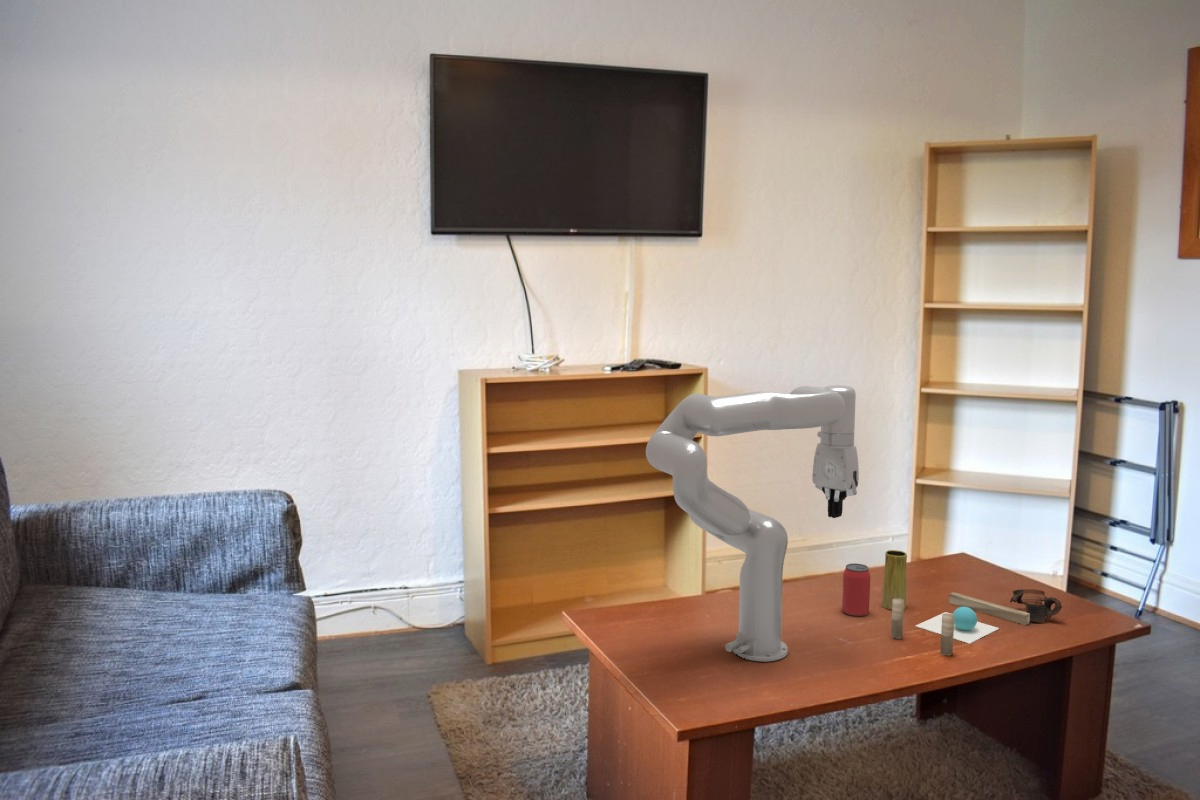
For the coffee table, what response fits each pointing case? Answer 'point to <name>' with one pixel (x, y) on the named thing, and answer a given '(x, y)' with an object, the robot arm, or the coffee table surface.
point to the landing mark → (960, 635)
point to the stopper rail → (989, 608)
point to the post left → (897, 618)
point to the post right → (947, 634)
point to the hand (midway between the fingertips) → (834, 516)
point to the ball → (965, 618)
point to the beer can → (856, 590)
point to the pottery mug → (1036, 604)
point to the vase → (894, 577)
